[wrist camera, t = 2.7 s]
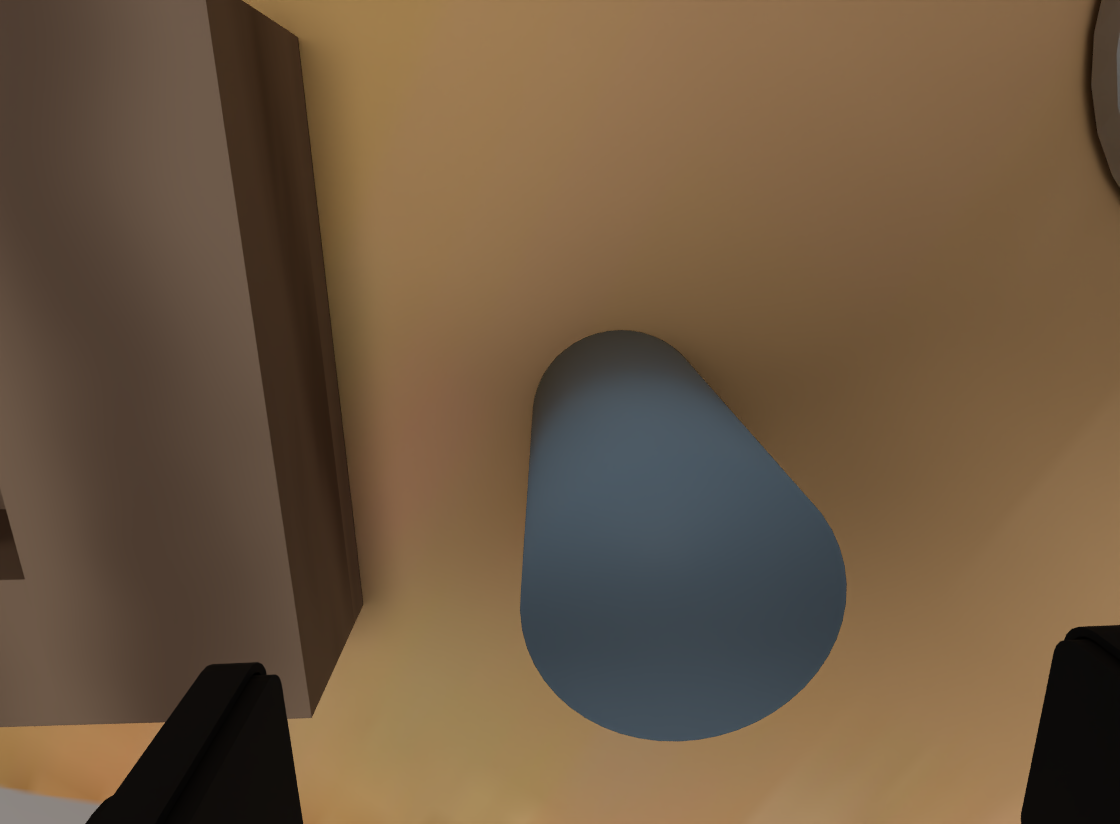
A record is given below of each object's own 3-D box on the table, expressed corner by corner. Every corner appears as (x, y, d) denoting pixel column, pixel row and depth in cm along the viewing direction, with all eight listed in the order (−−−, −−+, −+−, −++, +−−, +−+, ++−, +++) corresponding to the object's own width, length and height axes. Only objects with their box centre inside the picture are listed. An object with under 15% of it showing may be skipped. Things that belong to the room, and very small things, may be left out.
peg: (708, 328, 20) (863, 449, 10) (701, 493, 21) (830, 736, 11) (529, 332, 20) (513, 458, 10) (535, 497, 21) (525, 746, 11)
